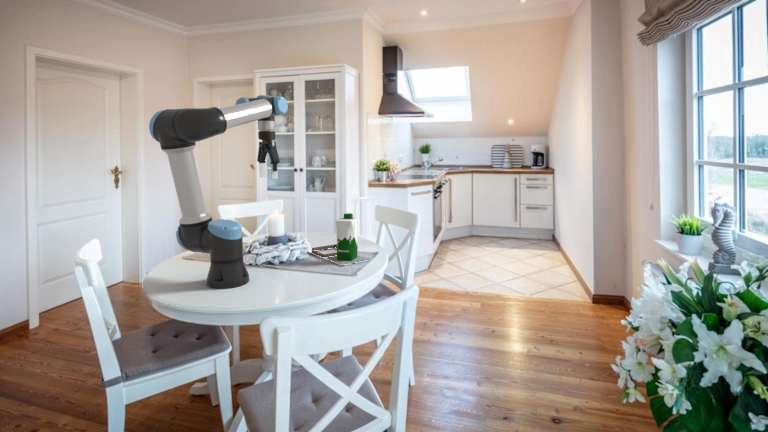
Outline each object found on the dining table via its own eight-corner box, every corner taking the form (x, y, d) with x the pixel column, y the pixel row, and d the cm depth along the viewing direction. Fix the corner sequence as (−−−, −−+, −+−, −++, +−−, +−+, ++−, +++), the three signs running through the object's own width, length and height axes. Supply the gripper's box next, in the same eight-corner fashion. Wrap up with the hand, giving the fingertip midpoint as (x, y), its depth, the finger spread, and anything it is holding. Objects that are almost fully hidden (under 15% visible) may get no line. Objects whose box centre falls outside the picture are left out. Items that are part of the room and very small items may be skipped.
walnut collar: (353, 254, 211) (353, 249, 210) (323, 259, 201) (323, 254, 201) (335, 248, 223) (335, 244, 223) (307, 252, 214) (307, 248, 213)
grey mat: (368, 261, 197) (368, 259, 197) (342, 266, 188) (342, 264, 188) (351, 255, 208) (351, 253, 208) (325, 260, 199) (325, 257, 199)
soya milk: (359, 256, 201) (359, 213, 198) (352, 261, 192) (352, 216, 189) (341, 255, 203) (341, 212, 200) (334, 260, 195) (333, 215, 192)
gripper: (286, 130, 192) (287, 178, 195) (264, 131, 211) (266, 176, 215) (269, 129, 187) (271, 179, 190) (248, 131, 207) (251, 176, 210)
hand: (268, 177), depth 203 cm, fingers open, 13 cm apart
